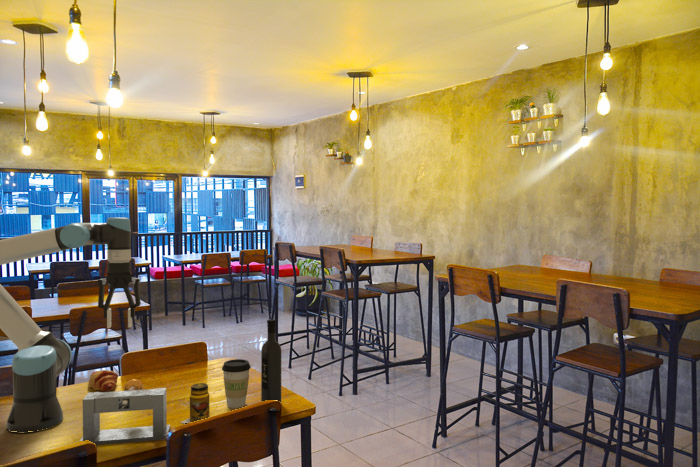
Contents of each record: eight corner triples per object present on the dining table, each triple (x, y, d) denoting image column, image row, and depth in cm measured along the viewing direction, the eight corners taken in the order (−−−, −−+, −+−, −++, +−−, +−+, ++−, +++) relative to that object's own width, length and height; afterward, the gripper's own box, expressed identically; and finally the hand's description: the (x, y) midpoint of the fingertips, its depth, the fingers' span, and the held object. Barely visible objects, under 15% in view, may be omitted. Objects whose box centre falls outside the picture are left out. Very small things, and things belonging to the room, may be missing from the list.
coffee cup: (215, 407, 175) (215, 364, 175) (234, 398, 184) (234, 357, 184) (238, 412, 171) (238, 368, 170) (256, 403, 179) (256, 361, 179)
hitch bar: (78, 446, 145) (77, 401, 144) (86, 435, 152) (85, 391, 152) (166, 439, 150) (166, 395, 149) (170, 428, 158) (170, 386, 157)
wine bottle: (268, 408, 174) (268, 322, 173) (260, 404, 178) (260, 319, 177) (282, 405, 178) (282, 320, 177) (273, 400, 182) (274, 317, 181)
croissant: (88, 389, 202) (77, 373, 199) (111, 373, 208) (101, 358, 205) (103, 403, 186) (92, 386, 183) (128, 385, 192) (117, 369, 189)
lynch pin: (115, 412, 148) (114, 395, 148) (125, 395, 162) (125, 379, 162) (133, 411, 149) (133, 393, 149) (142, 394, 163) (142, 378, 163)
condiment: (199, 428, 158) (199, 390, 158) (179, 422, 162) (179, 385, 162) (215, 420, 164) (215, 383, 164) (196, 415, 168) (196, 379, 168)
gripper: (86, 262, 171) (87, 330, 172) (146, 262, 175) (146, 328, 176) (92, 260, 178) (93, 325, 179) (150, 260, 183) (150, 323, 183)
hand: (119, 327), depth 178 cm, fingers open, 6 cm apart
